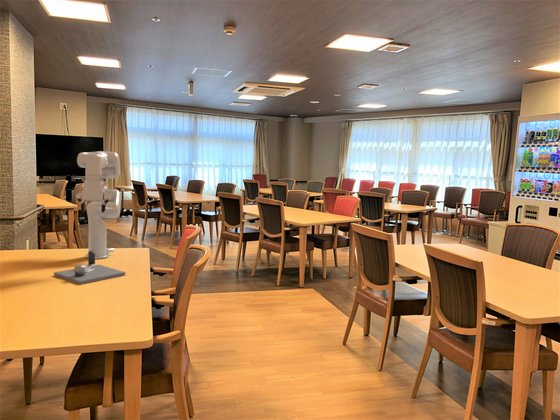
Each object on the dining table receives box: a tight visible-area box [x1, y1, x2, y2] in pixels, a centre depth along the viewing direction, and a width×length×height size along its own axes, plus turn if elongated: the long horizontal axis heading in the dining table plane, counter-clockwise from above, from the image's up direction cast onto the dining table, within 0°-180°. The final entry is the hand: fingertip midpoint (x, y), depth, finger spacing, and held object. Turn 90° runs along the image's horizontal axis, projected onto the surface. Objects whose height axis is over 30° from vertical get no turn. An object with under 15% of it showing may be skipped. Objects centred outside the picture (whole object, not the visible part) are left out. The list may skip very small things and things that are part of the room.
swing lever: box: [74, 251, 96, 276], centre depth 207 cm, size 20×4×8 cm, turn 5°
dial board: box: [53, 264, 126, 285], centre depth 206 cm, size 23×22×2 cm
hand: (93, 211), depth 222 cm, fingers open, 9 cm apart
